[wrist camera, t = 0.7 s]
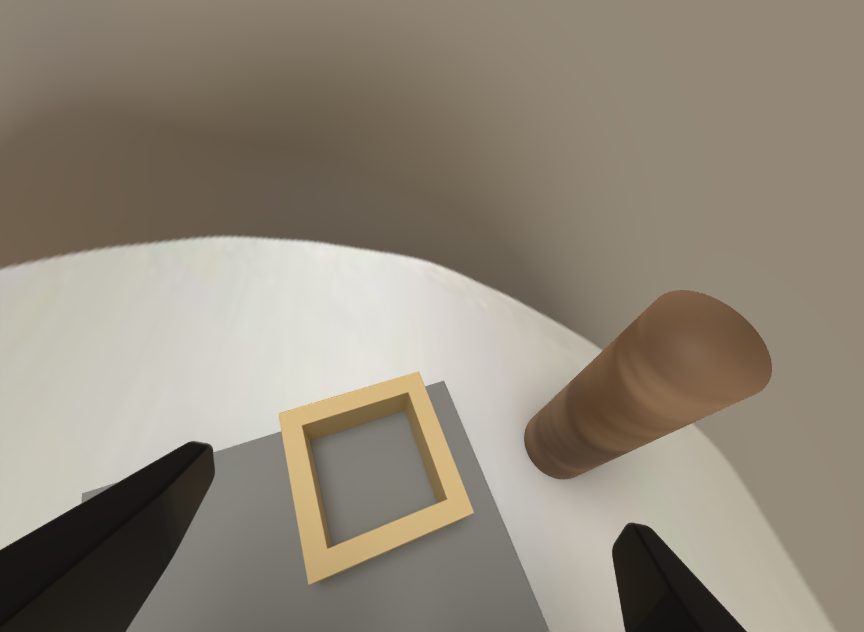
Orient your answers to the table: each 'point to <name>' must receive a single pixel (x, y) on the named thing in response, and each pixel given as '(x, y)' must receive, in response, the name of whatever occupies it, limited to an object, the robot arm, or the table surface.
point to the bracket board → (348, 528)
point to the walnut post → (650, 384)
